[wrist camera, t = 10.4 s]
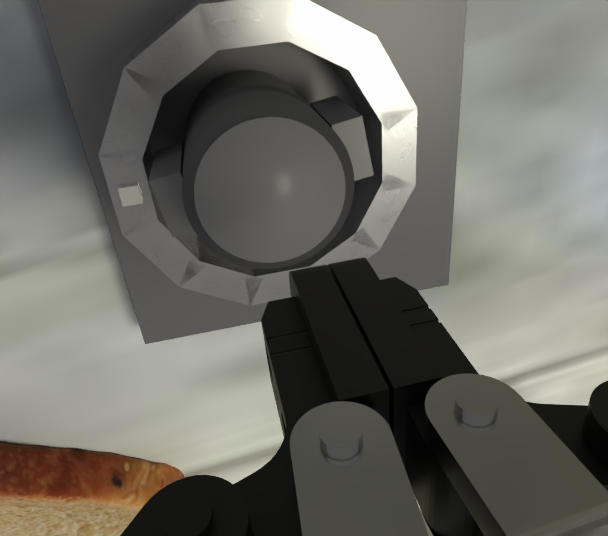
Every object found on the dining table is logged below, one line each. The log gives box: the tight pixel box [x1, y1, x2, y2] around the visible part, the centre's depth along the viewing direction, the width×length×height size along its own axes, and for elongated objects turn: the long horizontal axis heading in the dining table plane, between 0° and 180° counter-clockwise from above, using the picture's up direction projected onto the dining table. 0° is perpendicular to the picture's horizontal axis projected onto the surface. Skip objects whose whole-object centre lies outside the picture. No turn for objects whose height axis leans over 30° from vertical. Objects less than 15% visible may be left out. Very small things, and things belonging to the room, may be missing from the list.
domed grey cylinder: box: [149, 70, 374, 269], centre depth 17 cm, size 6×5×6 cm
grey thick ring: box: [98, 0, 417, 306], centre depth 18 cm, size 10×10×3 cm
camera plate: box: [38, 0, 467, 344], centre depth 19 cm, size 14×20×3 cm
